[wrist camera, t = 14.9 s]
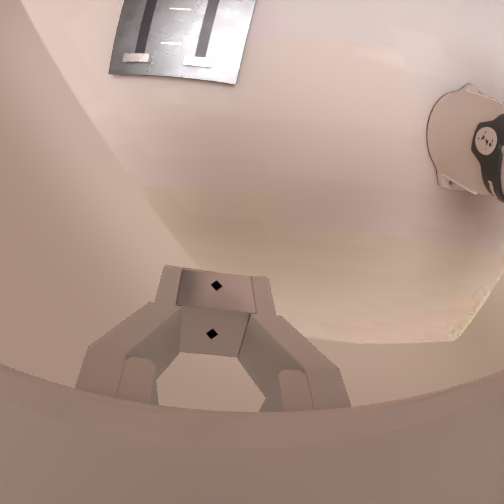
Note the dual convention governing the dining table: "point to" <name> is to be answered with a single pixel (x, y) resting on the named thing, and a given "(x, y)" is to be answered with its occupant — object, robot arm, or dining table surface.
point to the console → (182, 38)
